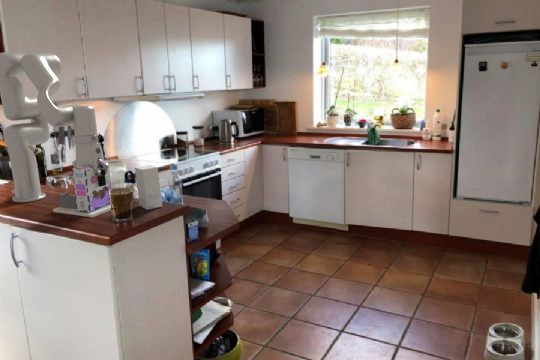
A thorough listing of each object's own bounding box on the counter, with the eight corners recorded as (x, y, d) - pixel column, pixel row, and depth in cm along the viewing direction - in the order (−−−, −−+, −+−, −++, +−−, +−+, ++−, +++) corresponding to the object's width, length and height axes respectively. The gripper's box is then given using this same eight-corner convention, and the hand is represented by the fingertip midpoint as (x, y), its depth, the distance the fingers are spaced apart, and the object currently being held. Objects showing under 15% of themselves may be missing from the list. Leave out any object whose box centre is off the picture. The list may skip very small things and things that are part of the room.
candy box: (90, 212, 167) (84, 168, 164) (76, 211, 169) (70, 168, 165) (113, 202, 180) (108, 161, 176) (100, 201, 182) (96, 160, 178)
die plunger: (66, 204, 177) (63, 184, 175) (78, 200, 182) (76, 181, 180) (77, 206, 174) (74, 185, 172) (89, 202, 179) (87, 182, 178)
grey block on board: (53, 211, 174) (51, 196, 173) (84, 201, 187) (82, 187, 186) (92, 217, 165) (90, 201, 164) (121, 206, 179) (120, 191, 177)
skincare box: (162, 207, 175) (159, 167, 172) (145, 210, 172) (141, 169, 168) (154, 202, 182) (150, 164, 179) (138, 205, 178) (134, 166, 175)
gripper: (112, 139, 168) (117, 184, 172) (78, 137, 175) (83, 181, 179) (96, 142, 161) (102, 189, 165) (61, 140, 169) (68, 185, 173)
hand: (92, 184), depth 172 cm, fingers open, 9 cm apart
